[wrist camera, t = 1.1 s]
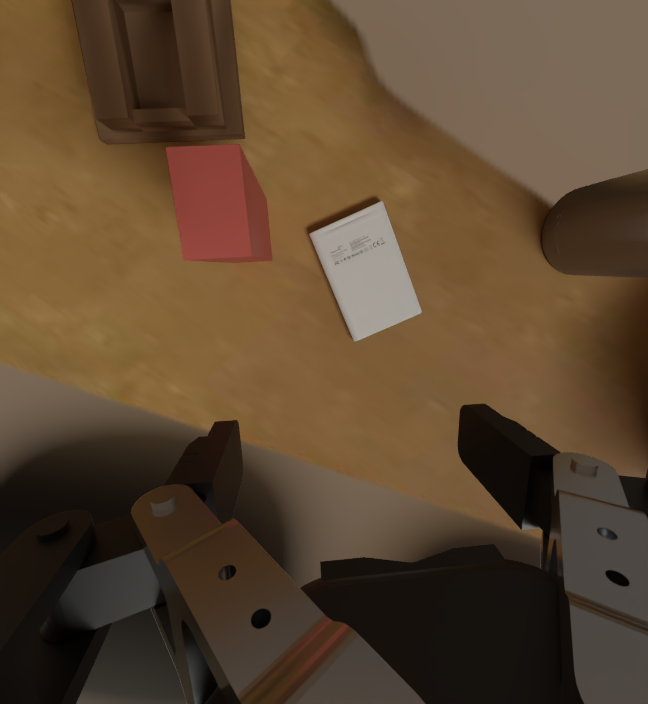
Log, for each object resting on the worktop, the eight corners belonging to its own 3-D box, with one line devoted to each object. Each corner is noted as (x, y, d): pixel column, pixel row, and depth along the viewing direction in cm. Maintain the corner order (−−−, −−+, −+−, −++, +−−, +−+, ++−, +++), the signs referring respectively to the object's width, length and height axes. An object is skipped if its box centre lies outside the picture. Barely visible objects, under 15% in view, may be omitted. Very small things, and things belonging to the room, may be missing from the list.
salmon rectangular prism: (266, 199, 34) (239, 144, 19) (272, 260, 36) (251, 256, 20) (226, 201, 34) (165, 147, 18) (234, 262, 35) (183, 260, 20)
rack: (230, -1, 30) (219, -43, 26) (245, 138, 33) (237, 120, 29) (78, 2, 29) (43, -41, 25) (106, 144, 32) (78, 126, 28)
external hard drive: (352, 339, 39) (308, 234, 36) (418, 310, 39) (379, 202, 36) (354, 342, 37) (309, 233, 34) (422, 312, 37) (383, 199, 34)
